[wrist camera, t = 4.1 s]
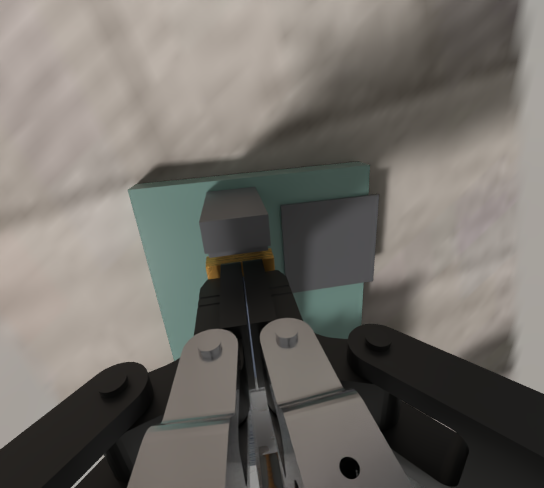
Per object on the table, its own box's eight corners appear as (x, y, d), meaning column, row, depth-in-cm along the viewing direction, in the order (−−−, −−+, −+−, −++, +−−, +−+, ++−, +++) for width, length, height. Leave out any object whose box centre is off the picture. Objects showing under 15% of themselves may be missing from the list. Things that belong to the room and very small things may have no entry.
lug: (206, 191, 12) (198, 222, 8) (255, 186, 12) (268, 214, 9) (212, 227, 13) (207, 270, 9) (258, 222, 13) (272, 261, 9)
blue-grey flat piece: (195, 254, 11) (193, 272, 10) (280, 243, 11) (286, 260, 10) (223, 380, 15) (223, 403, 13) (286, 369, 15) (291, 391, 14)
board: (136, 183, 13) (126, 191, 11) (366, 160, 14) (380, 164, 12) (200, 431, 19) (198, 454, 18) (354, 402, 20) (363, 420, 19)
